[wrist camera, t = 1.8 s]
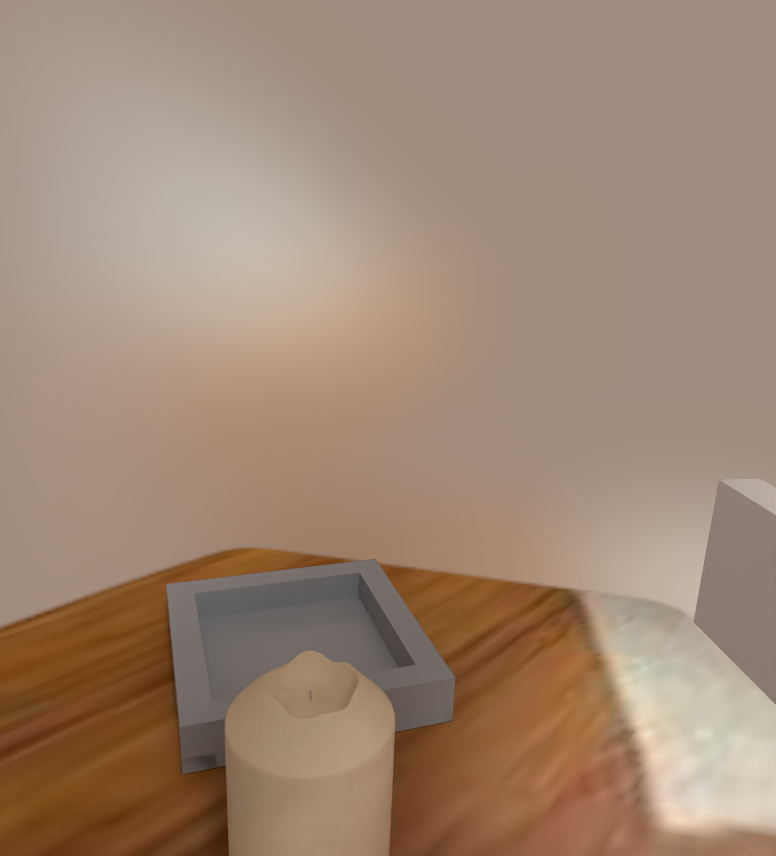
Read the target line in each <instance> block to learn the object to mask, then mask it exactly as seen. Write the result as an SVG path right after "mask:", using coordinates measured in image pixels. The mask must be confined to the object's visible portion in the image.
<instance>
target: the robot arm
mask: <svg viewBox="0 0 776 856" xmlns="http://www.w3.org/2000/svg"><path fill="white" fill-rule="evenodd" d="M694 623H695V624H696V625H697V626H698V627H699V628H700V629H701V630H702V631H703V632H704V633H705V634H706V635H707V636H708V637H709V638H710V639H711V640H712V641H713V642H714V643H715V644H716V645H717V646H718V647H719V648H720V649H721V650H722V651H723V652H724V653H725V654H726V655H727V656H728V657H729V658H730V659H731V660H732V661H733V662H734V663H735V664H736V665H737V666H738V667H739V668H740V669H741V670H742V671H743V672H744V673H745V674H746V675H747V676H748V677H749V678H750V679H751V680H752V681H753V682H754V683H755V684H756V685H757V686H758V687H759V688H760V689H761V690H762V691H763V692H764V693H765V694H766V695H767V696H768V697H769V698H770V699H771V700H772V701H773V702H774V703H775V704H776V488H775V487H773V486H771V485H770V484H768V483H766V482H764V481H763V480H761V479H732V480H731V479H728V480H719V483H718V489H717V494H716V500H715V505H714V512H713V517H712V522H711V528H710V534H709V540H708V545H707V550H706V556H705V562H704V567H703V573H702V578H701V584H700V590H699V596H698V601H697V606H696V612H695V618H694Z"/></svg>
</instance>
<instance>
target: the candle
mask: <svg viewBox="0 0 776 856" xmlns="http://www.w3.org/2000/svg"><path fill="white" fill-rule="evenodd" d="M224 728H225V758H226V786H227V814H228V842H229V856H389V853H390V830H391V807H392V785H393V762H394V739H395V713H394V709H393V706H392V704H391V701H390V700H389V698H388V697H387V695H386V694H385V693H384V692H383V691H382V690H381V688H379V687H378V686H377V685H376V684H375V683H373V682H372V681H371V680H370V679H368V678H367V677H366V676H364V675H363V674H362V673H360V672H359V671H357V670H356V669H355V668H354V667H353V666H352V665H350V664H349V663H346V662H333V661H331V660H329V659H328V658H326V657H325V656H324V655H323V654H321V653H319V652H317V651H305V652H302V653H300V654H299V655H298V656H296V657H295V658H294V659H293V660H292V661H290V662H289V663H287V664H285V665H283V666H280V667H278V668H276V669H274V670H271V671H270V672H268V673H266V674H264V675H262V676H261V677H259V678H258V679H256V680H255V681H254V682H252V683H251V684H250V685H249V686H247V687H246V688H245V689H244V690H243V691H242V692H240V694H239V695H238V696H237V697H236V698H235V699H234V701H233V702H232V704H231V705H230V707H229V709H228V711H227V714H226V718H225V727H224Z"/></svg>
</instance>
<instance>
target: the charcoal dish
mask: <svg viewBox="0 0 776 856" xmlns="http://www.w3.org/2000/svg"><path fill="white" fill-rule="evenodd" d="M166 588H167V605H168V622H169V633H170V644H171V654H172V665H173V676H174V687H175V698H176V709H177V720H178V731H179V741H180V752H181V763H182V774H187V773H192V772H197V771H202V770H207V769H212V768H217V767H222V766H226V758H225V728H224V727H225V718H226V714H227V711H228V709H229V707H230V705H231V704H232V702H233V701H234V699H235V698H236V697H237V696H238V695H239V694H240V692H242V691H243V690H244V689H245V688H246V687H247V686H249V685H250V684H251V683H252V682H254V681H255V680H256V679H258V678H259V677H261V676H262V675H264V674H266V673H268V672H270V671H271V670H274V669H276V668H278V667H280V666H283V665H285V664H287V663H289V662H290V661H292V660H293V659H294V658H295V657H296V656H298V655H299V654H300V653H302V652H305V651H317V652H319V653H321V654H323V655H324V656H325V657H326V658H328V659H329V660H331V661H333V662H346V663H349V664H350V665H352V666H353V667H354V668H355V669H356V670H357V671H359V672H360V673H362V674H363V675H364V676H366V677H367V678H368V679H370V680H371V681H372V682H373V683H375V684H376V685H377V686H378V687H379V688H381V690H382V691H383V692H384V693H385V694H386V695H387V697H388V698H389V700H390V701H391V704H392V706H393V709H394V713H395V732H398V731H403V730H408V729H413V728H418V727H423V726H428V725H433V724H438V723H443V722H448V721H452V718H453V704H454V690H455V676H454V675H453V673H452V672H451V670H450V669H449V667H448V666H447V664H446V663H445V661H444V660H443V658H442V657H441V655H440V654H439V653H438V651H437V650H436V648H435V647H434V645H433V644H432V642H431V641H430V639H429V638H428V636H427V635H426V633H425V632H424V630H423V629H422V627H421V626H420V624H419V623H418V621H417V620H416V618H415V617H414V615H413V614H412V612H411V611H410V609H409V608H408V606H407V605H406V604H405V602H404V601H403V599H402V598H401V596H400V595H399V593H398V592H397V590H396V589H395V587H394V586H393V584H392V583H391V581H390V580H389V578H388V577H387V575H386V574H385V572H384V571H383V569H382V568H381V566H380V565H379V563H378V562H377V560H376V559H371V560H363V561H354V562H346V563H338V564H330V565H321V566H313V567H305V568H297V569H288V570H280V571H272V572H264V573H255V574H247V575H239V576H231V577H222V578H214V579H206V580H198V581H189V582H181V583H173V584H166Z"/></svg>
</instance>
